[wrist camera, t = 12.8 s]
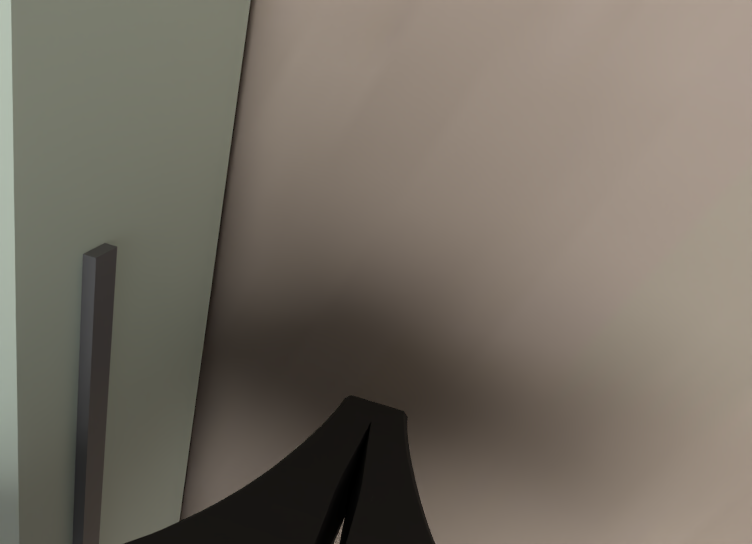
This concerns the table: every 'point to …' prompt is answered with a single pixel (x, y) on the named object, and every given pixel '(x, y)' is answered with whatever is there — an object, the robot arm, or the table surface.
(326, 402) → the table surface
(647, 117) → the table surface
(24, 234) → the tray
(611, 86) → the table surface
